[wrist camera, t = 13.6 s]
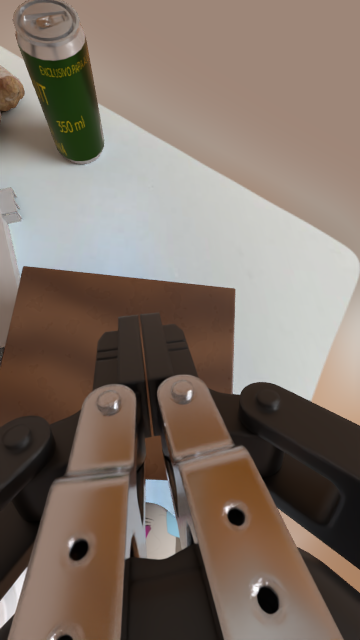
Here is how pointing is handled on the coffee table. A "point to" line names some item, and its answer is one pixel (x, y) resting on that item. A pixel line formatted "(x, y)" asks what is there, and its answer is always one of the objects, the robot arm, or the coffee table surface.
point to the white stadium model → (7, 262)
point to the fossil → (9, 90)
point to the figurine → (160, 532)
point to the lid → (87, 328)
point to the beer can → (61, 76)
